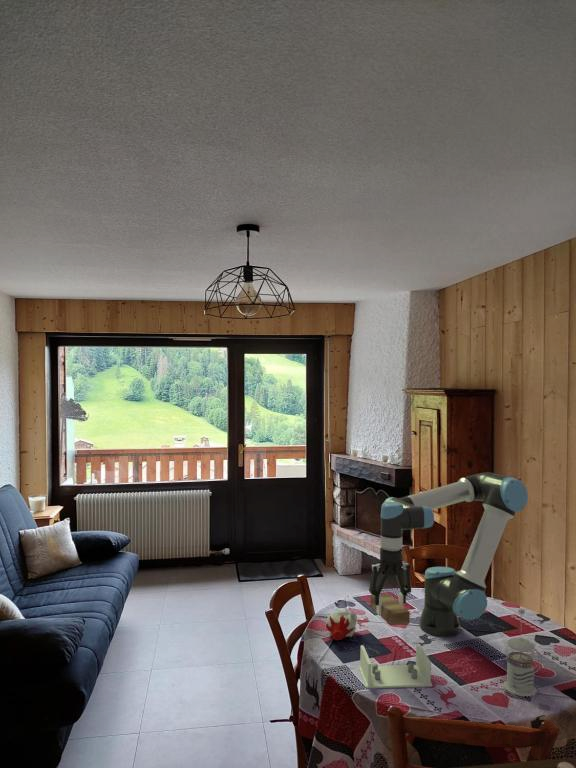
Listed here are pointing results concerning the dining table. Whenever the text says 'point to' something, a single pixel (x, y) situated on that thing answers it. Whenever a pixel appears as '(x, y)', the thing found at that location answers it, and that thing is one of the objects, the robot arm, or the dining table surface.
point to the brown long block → (392, 610)
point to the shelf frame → (396, 672)
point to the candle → (341, 624)
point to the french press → (516, 680)
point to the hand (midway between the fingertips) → (389, 613)
